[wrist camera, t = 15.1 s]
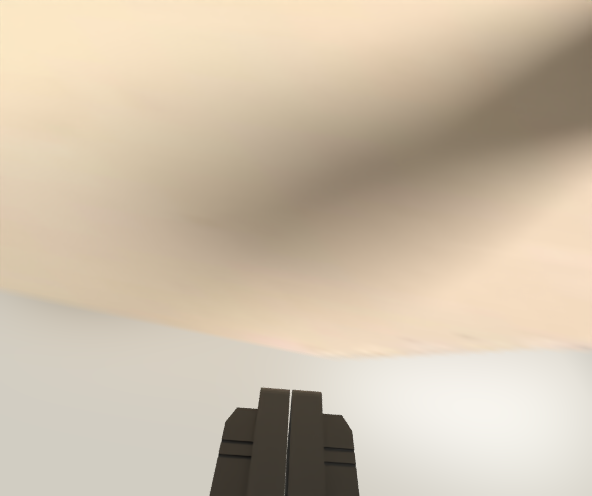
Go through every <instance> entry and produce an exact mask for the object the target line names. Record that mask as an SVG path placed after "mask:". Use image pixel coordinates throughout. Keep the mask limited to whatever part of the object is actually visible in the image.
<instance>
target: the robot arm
mask: <svg viewBox="0 0 592 496" xmlns="http://www.w3.org/2000/svg"><path fill="white" fill-rule="evenodd" d="M289 396H290V390H286V389H272V388H261V390H260V398H259V405H258V409H251V408H237V409H236V410H235V411H234V412H233V414H232V415H231V416H230V417H229V418H228V420H227V421H226V422H225V427H224V431H223V436H222V442H221V445H220V450H219V456H218V459H217V464H216V468H215V473H214V477H213V482H212V487H211V491H210V496H284V491H285V496H359V489H358V480H357V471H356V462H355V453H354V443H353V434H352V430H351V429H350V427H349V426H348V424H347V422H346V421H345V420H344V418H343V416H342V415H332V414H331V415H330V414H322V393H321V392H314V391H301V390H292V399H291V411H290V422H289V433H288V416H289V415H288V414H289ZM287 434H288V445H287ZM286 454H287V459H286ZM285 472H286V477H285Z"/></svg>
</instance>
